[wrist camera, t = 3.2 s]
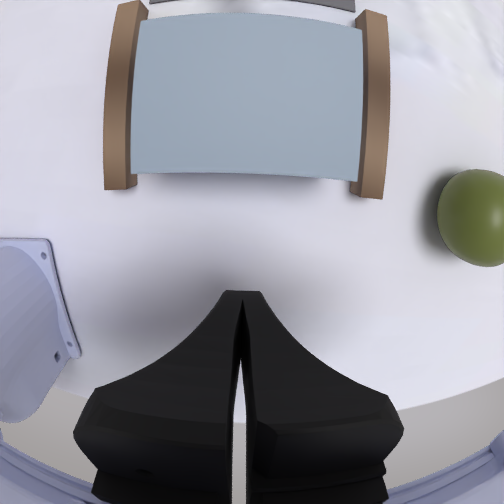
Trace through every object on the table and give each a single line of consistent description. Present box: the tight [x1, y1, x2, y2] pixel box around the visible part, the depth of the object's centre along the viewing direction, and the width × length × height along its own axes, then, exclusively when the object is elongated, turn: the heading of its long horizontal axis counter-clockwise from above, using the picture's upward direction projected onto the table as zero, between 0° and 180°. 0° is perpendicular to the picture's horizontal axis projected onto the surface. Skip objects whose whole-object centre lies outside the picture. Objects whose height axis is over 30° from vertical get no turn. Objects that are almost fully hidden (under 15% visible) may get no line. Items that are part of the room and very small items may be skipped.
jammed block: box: [131, 13, 363, 182], centre depth 10 cm, size 6×8×4 cm
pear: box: [437, 169, 504, 267], centre depth 12 cm, size 6×5×10 cm
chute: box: [103, 0, 390, 199], centre depth 11 cm, size 10×13×2 cm
